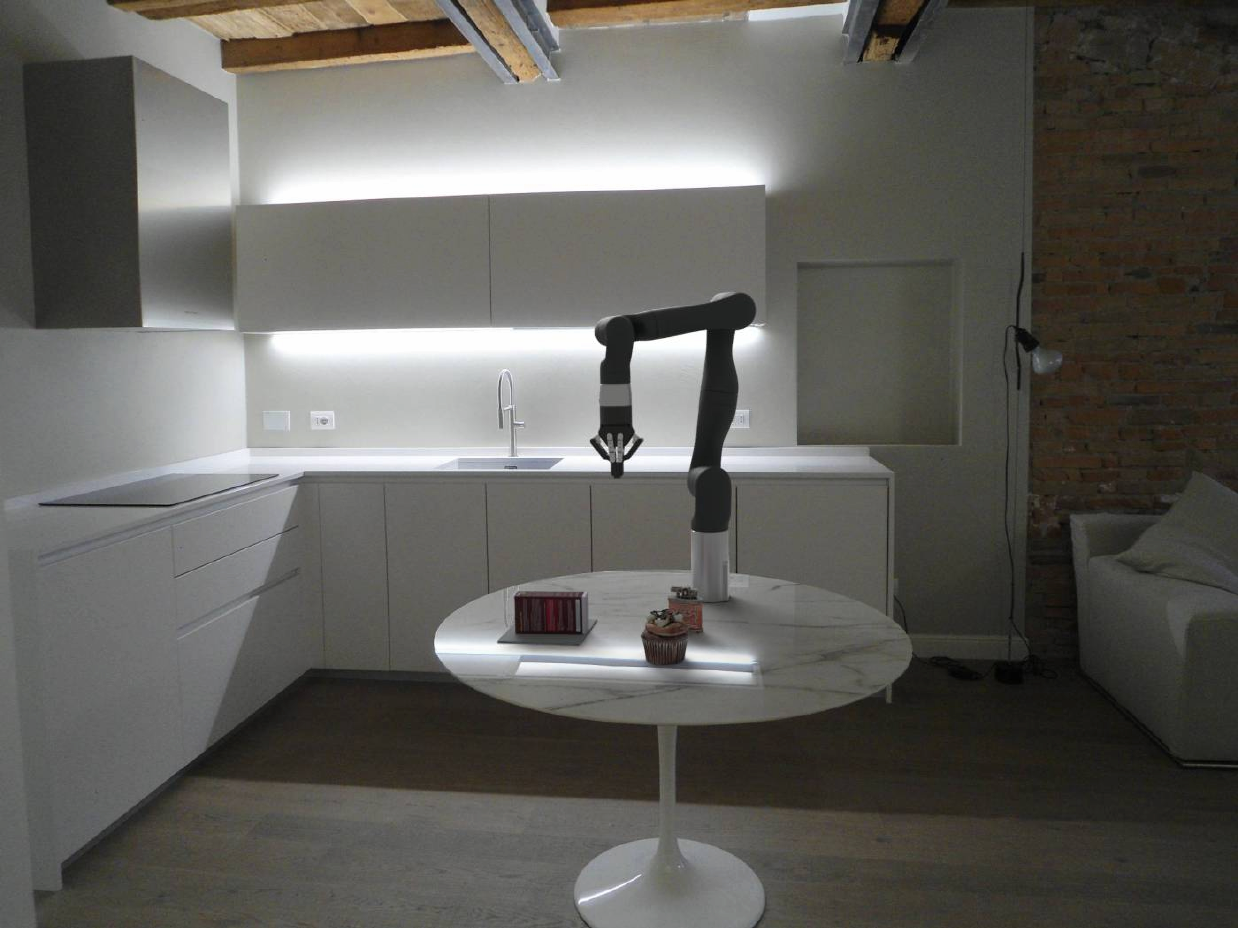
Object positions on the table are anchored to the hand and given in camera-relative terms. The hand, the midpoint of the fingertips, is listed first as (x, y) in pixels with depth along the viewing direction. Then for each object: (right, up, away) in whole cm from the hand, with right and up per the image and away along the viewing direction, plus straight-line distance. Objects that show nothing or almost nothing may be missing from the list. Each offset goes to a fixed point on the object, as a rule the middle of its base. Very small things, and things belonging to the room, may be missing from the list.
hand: (617, 478), depth 218 cm
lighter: (+15, -34, -12) cm, 39 cm away
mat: (-15, -34, -10) cm, 38 cm away
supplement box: (-6, -29, -13) cm, 33 cm away
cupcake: (+10, -36, -30) cm, 48 cm away
